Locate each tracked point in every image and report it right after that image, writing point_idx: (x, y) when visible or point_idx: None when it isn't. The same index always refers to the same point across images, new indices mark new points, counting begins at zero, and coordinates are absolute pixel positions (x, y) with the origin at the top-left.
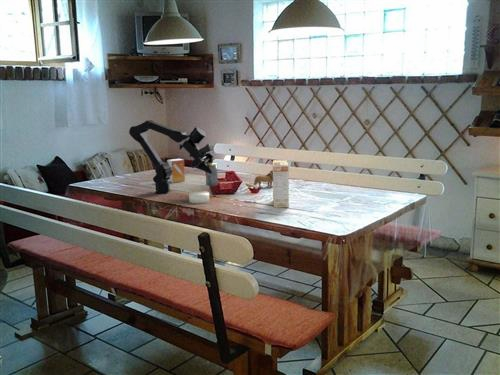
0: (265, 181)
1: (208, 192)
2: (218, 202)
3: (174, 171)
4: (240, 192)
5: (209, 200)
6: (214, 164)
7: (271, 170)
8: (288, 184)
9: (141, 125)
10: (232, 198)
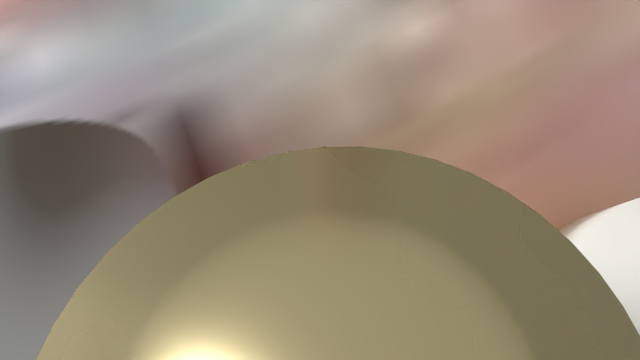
0: None
1: (604, 233)
2: (592, 90)
3: None
4: (49, 87)
5: (582, 217)
6: (474, 185)
7: None
8: None
9: None
10: (372, 38)
